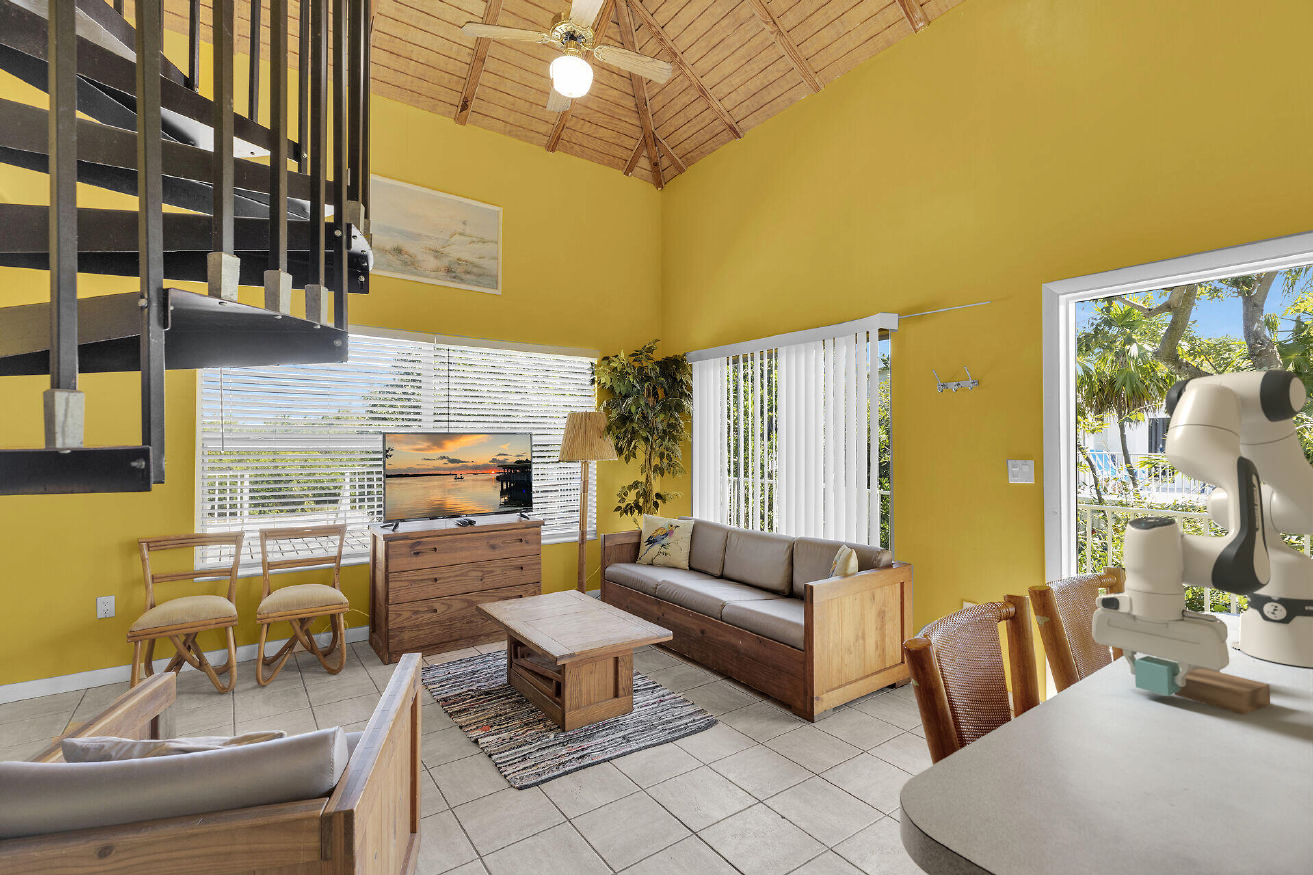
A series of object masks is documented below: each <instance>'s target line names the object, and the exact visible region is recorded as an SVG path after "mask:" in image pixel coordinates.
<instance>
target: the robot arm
mask: <svg viewBox="0 0 1313 875" xmlns="http://www.w3.org/2000/svg"><path fill="white" fill-rule="evenodd" d="M1306 399H1307V391H1306V387H1305V385H1304V382H1303V380H1302V379H1301V377H1300V376H1299V375H1296V374H1295V373H1294V372H1292V371H1290V370H1285V369H1284V370H1283V369H1268V370H1267V371H1261V370H1260V371H1255V370H1253V371H1235V372H1227V373H1221V374H1214V375H1208V376H1201V377H1197V378H1196V377H1190V378H1185V379H1181V380H1177V381H1176V382H1175V383H1173V384H1172V385H1171V386H1170V387H1169V388H1168V390H1167V392H1166V396H1165V409H1166V412H1167V414H1168V416H1169V417H1170V422H1169V427H1168V431H1167V434H1166V438H1165V443H1164V445H1165V446H1164V453H1165V457H1166V459H1167V461H1168V463H1169V464H1170V465H1171V466H1172V467H1173V468H1174V469H1175V470H1177V471H1178V472H1179V473H1181V474H1182V475H1185V476H1187V477H1189V478H1191V479H1193V480H1195V481H1199V482H1202V483H1205V484H1208V485H1212V486H1213V487H1216V488H1214V489H1213V490H1211V492H1210V493H1209V495H1208V497H1207V499H1206V505H1205V507H1206V512H1207V514H1208V515H1209V517H1210V518H1211V520H1212V521H1213V522H1214V523H1215V524H1217V525H1218V526H1220V527H1221V528H1223V529H1224V530H1226V531H1227V532H1228V533H1227V534H1226V535H1224V536H1210V535H1196V534H1190V533H1184V532H1182V531H1180V529H1179V525H1178V523H1177V521H1175V520H1174V519H1171V518H1167V517H1162V516H1161V517H1160V516H1148V517H1138V518H1134V519H1132V520H1130V521H1128V522H1127V524H1126V527H1125V530H1124V538H1123V546H1122V548H1123V550H1122V551H1123V552H1122V554H1123V557H1122V558H1123V567H1124V569H1125V574H1126V577H1125V581H1124V591H1118V592H1113V593H1107V594H1103V595H1100V596H1097V597H1096V598H1095V605H1096V608H1097V609H1095V610H1094V612H1093V615H1092V623H1091V624H1092V626H1091V635H1092V638H1093V640H1094V641H1095V643H1096V644H1100V645H1103V646H1104V645H1105V646H1108V647H1109V646H1110V647H1114V648H1117V649H1121V650H1122V655H1123V656H1124V658H1125V660H1126V661H1127V663H1128V665H1129V666H1130V667H1129V668H1130V674H1131V675H1134V676H1135V660H1137V658H1136V656H1135V655H1137V653H1139V654H1142V655H1143V654H1144V655H1146V656H1150V657H1155V658H1157V657H1160V658H1164V659H1169V660H1173V661H1177V662H1178V667H1179V668H1182V670H1181V671H1180V673H1179V674H1174V675H1171V677H1172V684H1173V685H1176V686H1180V687H1184V686H1185V685H1186V676H1187V674H1188V673H1189V672H1190V671H1191V670H1192V668H1193V665H1195V666H1199V667H1203V668H1208V669H1212V670H1222V669H1225V668H1227V667H1228V666H1229V665H1230V656H1229V655H1230V654H1229V649H1228V645H1227V639H1228V635H1229V634H1228V626H1227V624H1226V623H1225V621H1223V620H1221V619H1220V618H1219V617H1217V616H1216V615H1213V614H1211V613H1210V614H1209V613H1208V614H1207V613H1200V612H1197V611H1194V612H1192V611H1193V610H1190V611H1187V610H1186V608H1187V607H1186V591H1185V587H1184V586H1183V585H1187V586H1192V587H1193V586H1194V587H1198V588H1205V589H1213V590H1217V591H1219V592H1224V593H1229V594H1234V595H1238V596H1245V597H1246V600H1247V606H1248V609H1247V610H1246V611H1243V612H1242V613H1240V615H1239V629H1238V630H1239V631H1238V632H1239V635H1238V637H1239V638H1238V641H1235V642H1233V641H1232V642H1231V643H1230V647H1231V648H1232V647H1234V648H1233V649H1235V648H1236V649H1235V650H1238V649H1240V650H1239V651H1241V652H1242V653H1244V654H1246V655H1249V656H1251V657H1253V658H1258V659H1261V660H1265V661H1268V662H1274V663H1278V664H1283V665H1289V666H1290V665H1291V666H1297V667H1306V668H1313V558H1311V557H1310V556H1309V555H1307V554H1306V553H1304V552H1302V551H1299V550H1297V549H1295V548H1293V547H1290V546H1289V545H1287V543H1285V541H1284V540H1283V538H1282V535H1281V534H1290V535H1291V534H1293V535H1304V536H1305V535H1306V536H1313V466H1312V465H1311V463H1310V462H1309V461H1308V460H1307V458H1306V456H1305V454H1304V451H1303V448H1302V446H1301V442H1300V439H1299V436H1298V433H1297V429H1296V425H1295V421H1294V418H1295V417H1296V416H1297V415H1299V414H1300V413H1301V412H1302V411H1303V409H1304V407H1305V405H1306V404H1305V403H1306ZM1203 619H1204V620H1203ZM1216 620H1217V621H1218V622H1215V621H1216Z"/></svg>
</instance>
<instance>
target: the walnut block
mask: <svg viewBox="0 0 1313 875" xmlns="http://www.w3.org/2000/svg"><path fill="white" fill-rule="evenodd" d="M1270 687H1271V685H1270V684H1268V683H1263V682H1260V681H1256V680H1253V679H1248V678H1244V677H1240V676H1236V675H1232V674H1228V673H1224V672H1221V671H1220V672H1217V671H1212V670H1208V669H1204V668H1200V669H1196V670H1192V671H1190V672H1189V673H1188V674H1187V676H1186V685H1185V686H1184V687H1180V688H1181V691H1179V692H1176V693H1174V694H1173V695H1174V696H1177V697H1181V698H1184V699H1188V700H1190V699H1191V701H1194V702H1198V703H1201V704H1203V705H1208V706H1212V707H1215V708H1218V709H1222V710H1226V711H1229V712H1232V713H1236V714H1239V715H1242V716H1244V715H1245V714H1248V713H1251V712H1255V711H1257V710H1260V709H1263V708H1265V707H1269V706H1271V688H1270Z"/></svg>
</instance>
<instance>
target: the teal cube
mask: <svg viewBox="0 0 1313 875" xmlns="http://www.w3.org/2000/svg"><path fill="white" fill-rule="evenodd" d="M1179 673H1180V668H1179V667H1178V663H1176V662H1172V661H1167V660H1163V659H1159V658H1157V657H1155V656H1151V655H1146V656H1143V657H1141V658H1138V659H1137V658H1136V660H1135V675H1134V677H1135V682H1134V683H1135V688H1138V689H1141V690H1144V691H1149V692H1151V693H1156V694H1159V695H1162V696H1167V697H1170V696H1171V695H1172V696H1173V695H1174V693H1176V692H1179V691H1181V688H1180V686H1176V685H1173V684H1172V677H1171V675H1174V674H1179Z"/></svg>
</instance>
